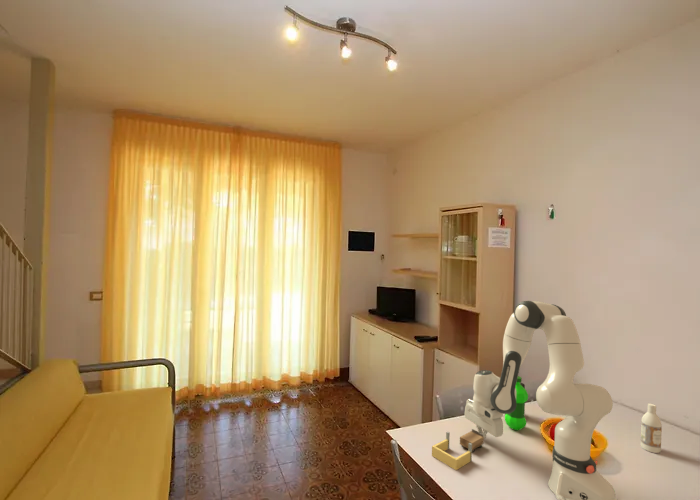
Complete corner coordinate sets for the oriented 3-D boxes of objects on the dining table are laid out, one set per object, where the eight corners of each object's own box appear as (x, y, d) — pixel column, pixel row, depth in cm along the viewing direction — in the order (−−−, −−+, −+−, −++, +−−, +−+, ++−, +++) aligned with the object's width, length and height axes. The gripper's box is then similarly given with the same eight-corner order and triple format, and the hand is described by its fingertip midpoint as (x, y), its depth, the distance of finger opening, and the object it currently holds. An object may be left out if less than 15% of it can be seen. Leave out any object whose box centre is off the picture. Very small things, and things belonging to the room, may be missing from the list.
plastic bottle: (530, 433, 169) (532, 381, 169) (508, 432, 169) (510, 380, 169) (521, 422, 179) (522, 373, 179) (500, 422, 179) (501, 373, 179)
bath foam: (650, 453, 155) (651, 408, 154) (636, 444, 161) (637, 401, 161) (665, 453, 155) (666, 408, 155) (651, 444, 162) (652, 401, 162)
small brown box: (483, 446, 156) (483, 434, 156) (471, 453, 151) (472, 440, 151) (471, 440, 161) (471, 428, 161) (459, 446, 156) (460, 434, 156)
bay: (471, 460, 145) (472, 443, 145) (456, 470, 139) (456, 452, 139) (447, 447, 155) (447, 431, 155) (431, 455, 148) (432, 439, 148)
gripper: (461, 398, 169) (460, 427, 169) (495, 417, 151) (494, 449, 151) (471, 396, 172) (471, 424, 172) (506, 415, 153) (505, 446, 153)
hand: (482, 436), depth 161 cm, fingers closed
